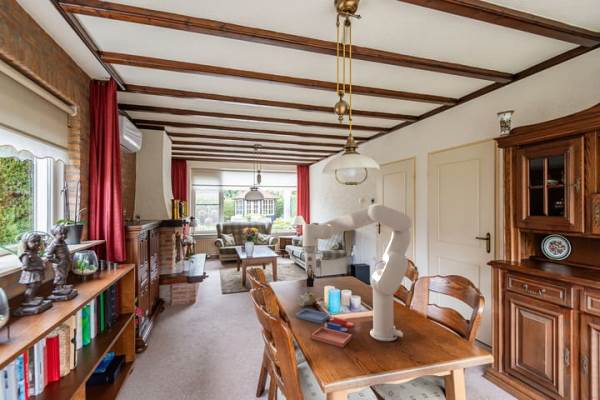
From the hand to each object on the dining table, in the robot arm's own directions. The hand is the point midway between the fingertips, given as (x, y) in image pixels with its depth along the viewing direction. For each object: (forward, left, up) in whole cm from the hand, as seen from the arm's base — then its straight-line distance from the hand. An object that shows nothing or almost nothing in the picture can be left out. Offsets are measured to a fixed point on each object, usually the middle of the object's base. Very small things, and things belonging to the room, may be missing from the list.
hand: (310, 284), depth 138 cm
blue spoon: (-9, -11, -24) cm, 28 cm away
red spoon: (-9, -19, -24) cm, 32 cm away
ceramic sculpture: (+21, -35, -25) cm, 48 cm away
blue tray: (+9, -19, -24) cm, 32 cm away
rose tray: (-11, -1, -24) cm, 27 cm away
